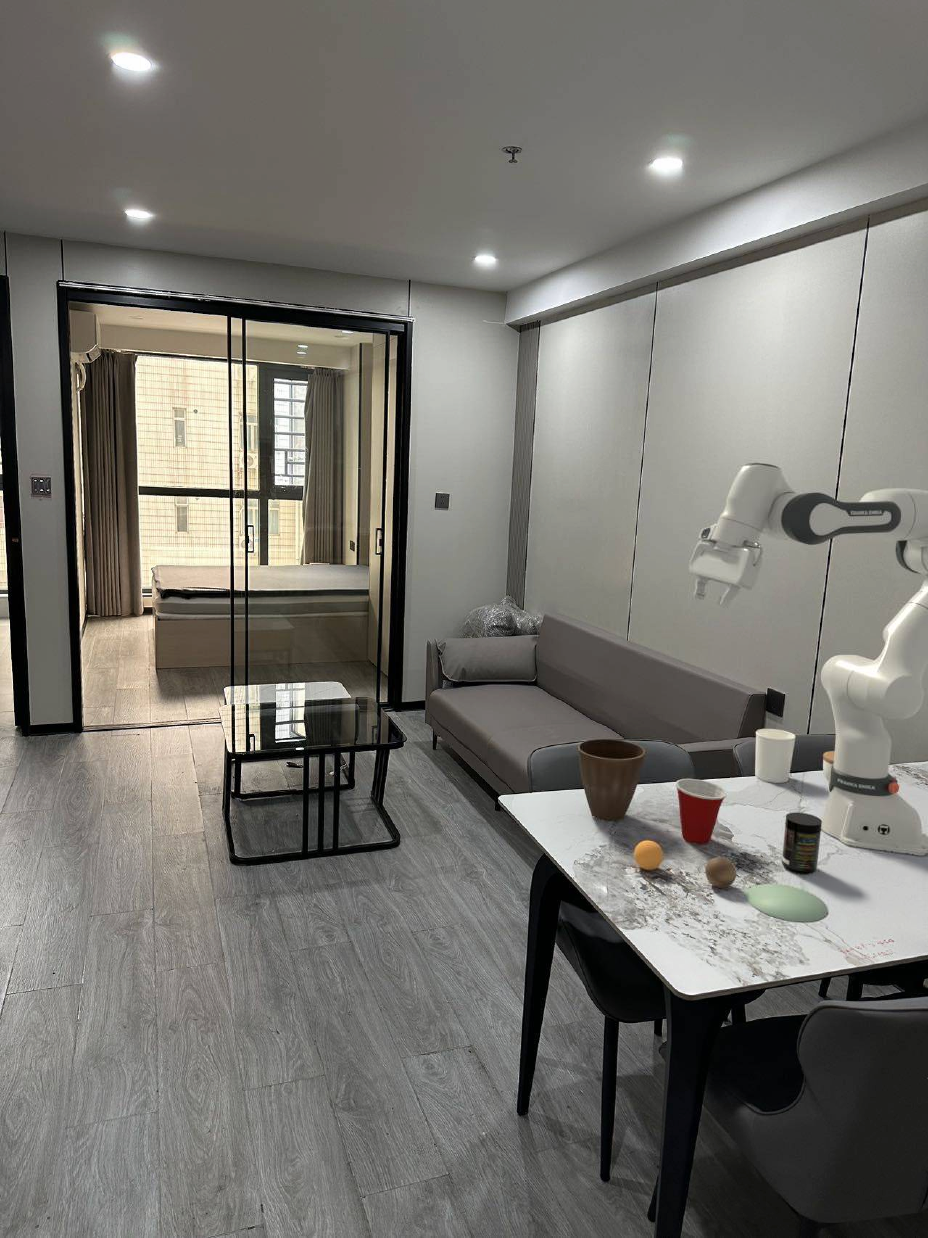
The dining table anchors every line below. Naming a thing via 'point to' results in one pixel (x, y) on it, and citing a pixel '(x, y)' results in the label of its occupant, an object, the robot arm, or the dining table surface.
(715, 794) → the plastic cup
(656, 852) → the orange ball
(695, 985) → the dining table surface
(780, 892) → the sage mark
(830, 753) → the lidded jar
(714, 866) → the walnut ball
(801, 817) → the supplement container
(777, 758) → the white tapered cylinder
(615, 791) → the plant pot
